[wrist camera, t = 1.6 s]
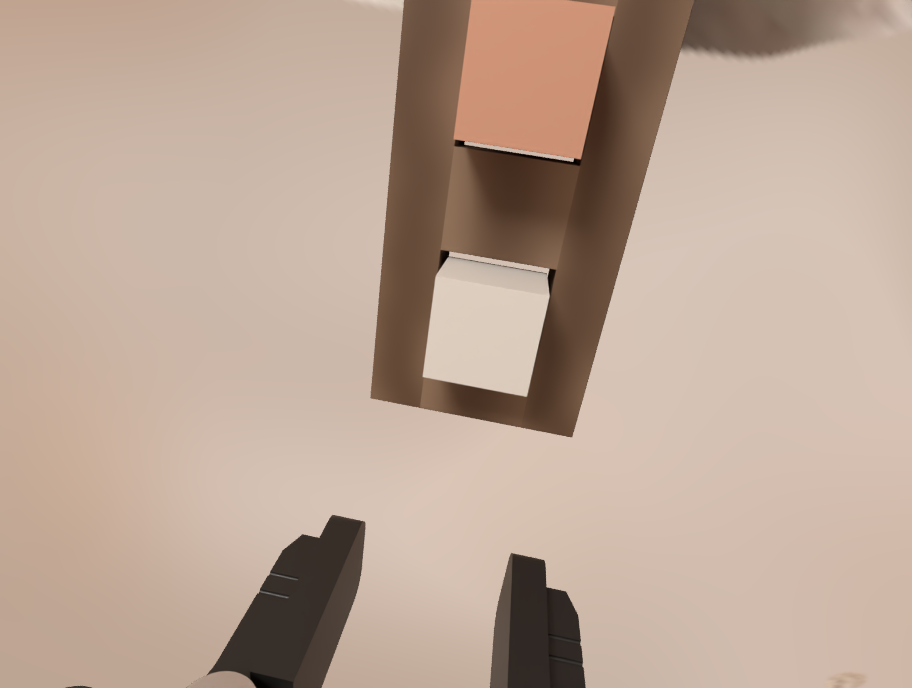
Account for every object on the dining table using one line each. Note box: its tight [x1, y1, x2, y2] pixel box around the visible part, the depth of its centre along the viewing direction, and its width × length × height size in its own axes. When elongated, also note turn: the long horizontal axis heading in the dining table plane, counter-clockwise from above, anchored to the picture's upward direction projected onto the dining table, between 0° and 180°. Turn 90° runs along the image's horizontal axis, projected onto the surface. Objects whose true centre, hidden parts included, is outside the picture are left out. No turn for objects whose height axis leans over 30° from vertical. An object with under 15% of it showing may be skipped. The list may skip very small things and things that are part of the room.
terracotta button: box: [454, 0, 615, 159], centre depth 21 cm, size 5×5×4 cm
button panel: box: [371, 0, 694, 437], centre depth 26 cm, size 12×24×4 cm, turn 172°
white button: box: [423, 257, 550, 397], centre depth 25 cm, size 5×5×4 cm
